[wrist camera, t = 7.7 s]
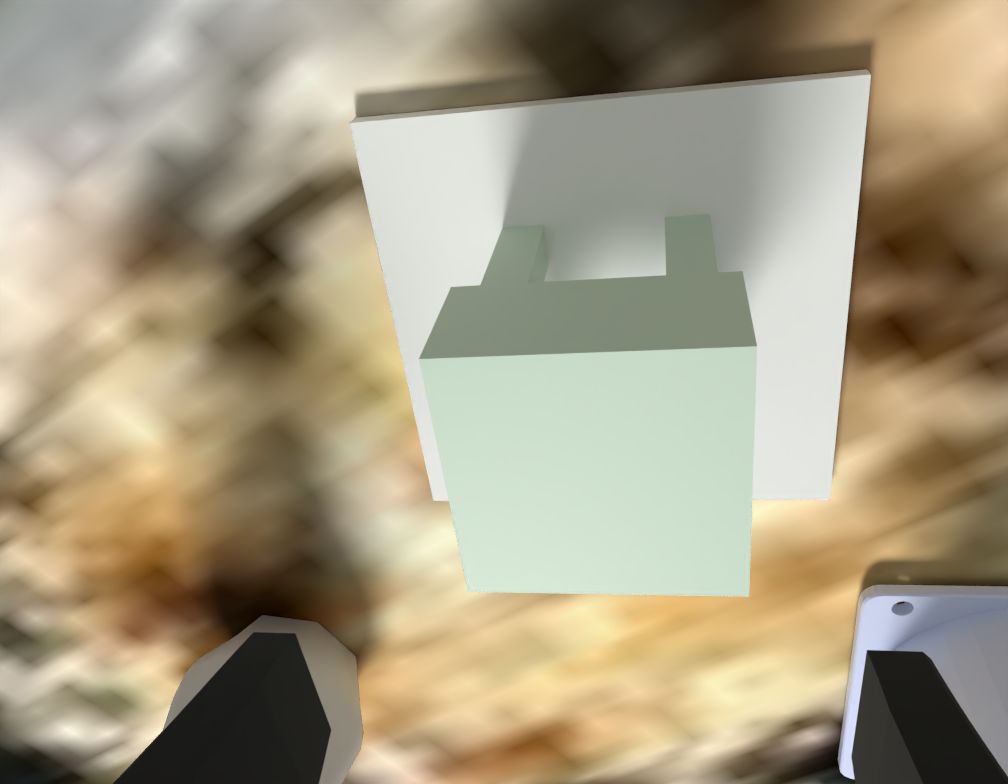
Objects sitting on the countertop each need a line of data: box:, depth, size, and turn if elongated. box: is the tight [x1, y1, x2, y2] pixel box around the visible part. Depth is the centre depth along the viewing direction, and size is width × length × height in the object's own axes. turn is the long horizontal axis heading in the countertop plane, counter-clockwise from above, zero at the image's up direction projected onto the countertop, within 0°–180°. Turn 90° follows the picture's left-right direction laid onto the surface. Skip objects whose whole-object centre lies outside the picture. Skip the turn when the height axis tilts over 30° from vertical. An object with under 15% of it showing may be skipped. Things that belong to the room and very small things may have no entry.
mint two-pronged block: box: [419, 214, 757, 597], centre depth 16 cm, size 5×5×6 cm
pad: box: [349, 69, 871, 501], centre depth 19 cm, size 10×10×1 cm
